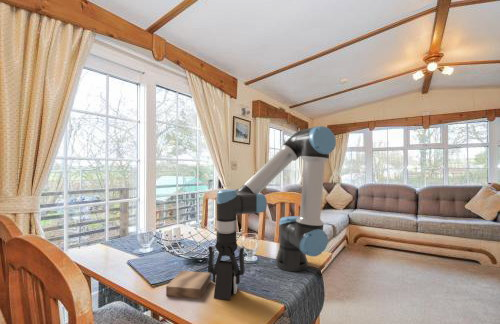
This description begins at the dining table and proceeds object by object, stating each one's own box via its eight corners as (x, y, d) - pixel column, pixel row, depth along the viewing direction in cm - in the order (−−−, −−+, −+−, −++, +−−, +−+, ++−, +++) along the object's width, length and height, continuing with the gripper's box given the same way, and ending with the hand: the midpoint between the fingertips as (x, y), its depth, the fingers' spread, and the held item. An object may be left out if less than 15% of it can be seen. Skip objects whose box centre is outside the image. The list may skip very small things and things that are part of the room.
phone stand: (222, 286, 100) (223, 256, 100) (237, 288, 98) (237, 257, 98) (213, 298, 91) (213, 265, 91) (229, 300, 89) (229, 267, 89)
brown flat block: (210, 281, 104) (210, 272, 104) (200, 298, 91) (200, 288, 91) (180, 279, 106) (180, 270, 106) (166, 295, 93) (166, 286, 93)
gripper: (253, 229, 97) (252, 288, 97) (205, 226, 100) (204, 284, 100) (250, 234, 90) (250, 298, 90) (198, 232, 92) (198, 294, 93)
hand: (226, 291), depth 95 cm, fingers closed on phone stand, 6 cm apart
